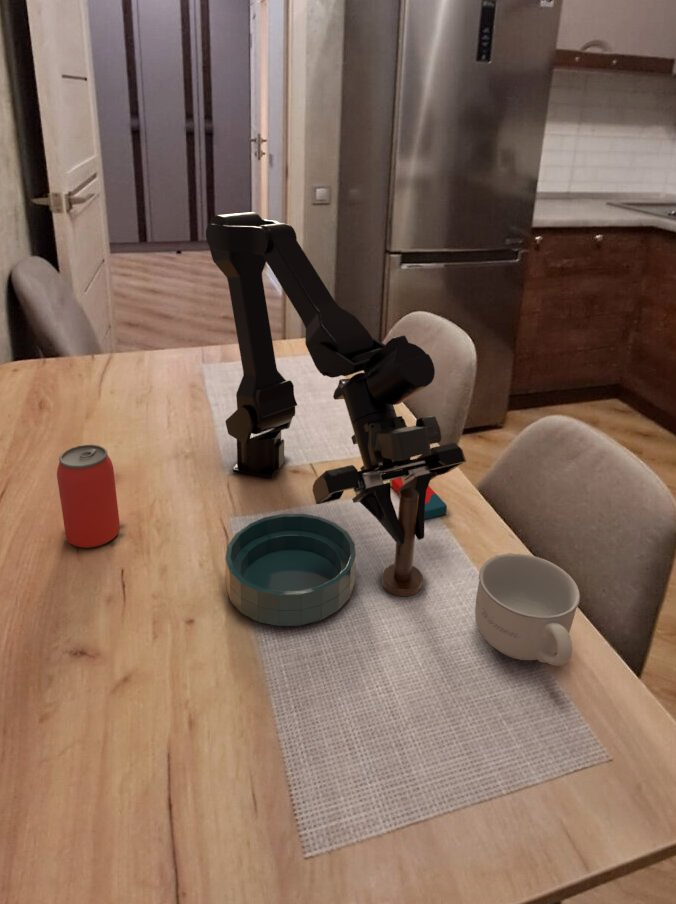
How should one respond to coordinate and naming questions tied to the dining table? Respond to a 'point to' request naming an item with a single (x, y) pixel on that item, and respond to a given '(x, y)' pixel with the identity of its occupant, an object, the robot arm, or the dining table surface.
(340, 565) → the bowl
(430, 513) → the popsicle
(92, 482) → the beer can
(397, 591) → the wooden peg stand
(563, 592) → the teacup
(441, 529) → the dining table surface
